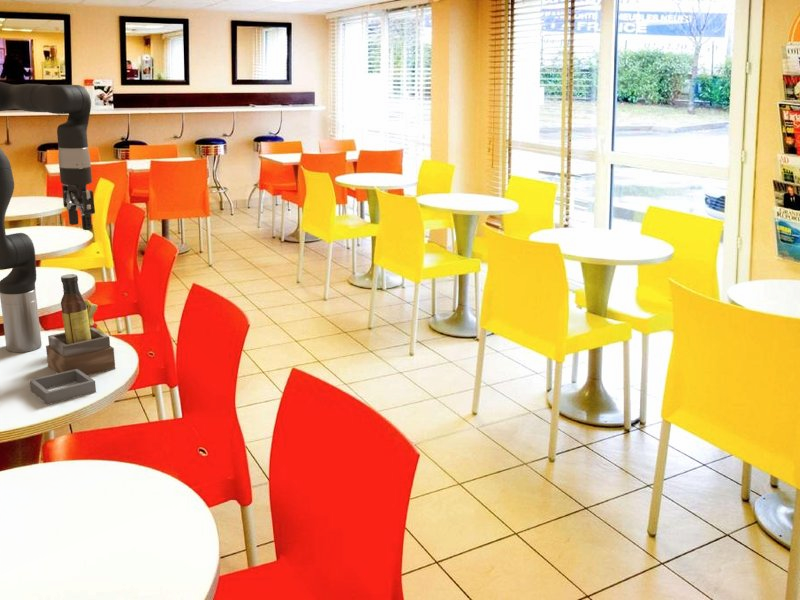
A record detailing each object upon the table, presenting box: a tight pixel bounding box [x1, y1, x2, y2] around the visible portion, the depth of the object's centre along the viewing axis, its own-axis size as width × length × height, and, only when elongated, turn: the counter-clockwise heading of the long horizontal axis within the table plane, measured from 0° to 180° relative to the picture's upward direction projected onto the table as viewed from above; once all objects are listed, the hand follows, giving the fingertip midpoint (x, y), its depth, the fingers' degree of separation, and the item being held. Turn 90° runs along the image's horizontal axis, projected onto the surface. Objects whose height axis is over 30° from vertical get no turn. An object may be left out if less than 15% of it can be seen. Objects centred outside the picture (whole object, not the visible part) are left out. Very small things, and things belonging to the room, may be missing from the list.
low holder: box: [29, 369, 97, 405], centre depth 193 cm, size 11×12×3 cm
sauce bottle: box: [60, 273, 91, 344], centre depth 205 cm, size 6×6×20 cm
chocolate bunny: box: [83, 298, 107, 335], centre depth 220 cm, size 7×11×15 cm, turn 105°
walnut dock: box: [45, 327, 116, 376], centre depth 208 cm, size 13×13×9 cm
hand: (80, 227), depth 203 cm, fingers open, 8 cm apart
